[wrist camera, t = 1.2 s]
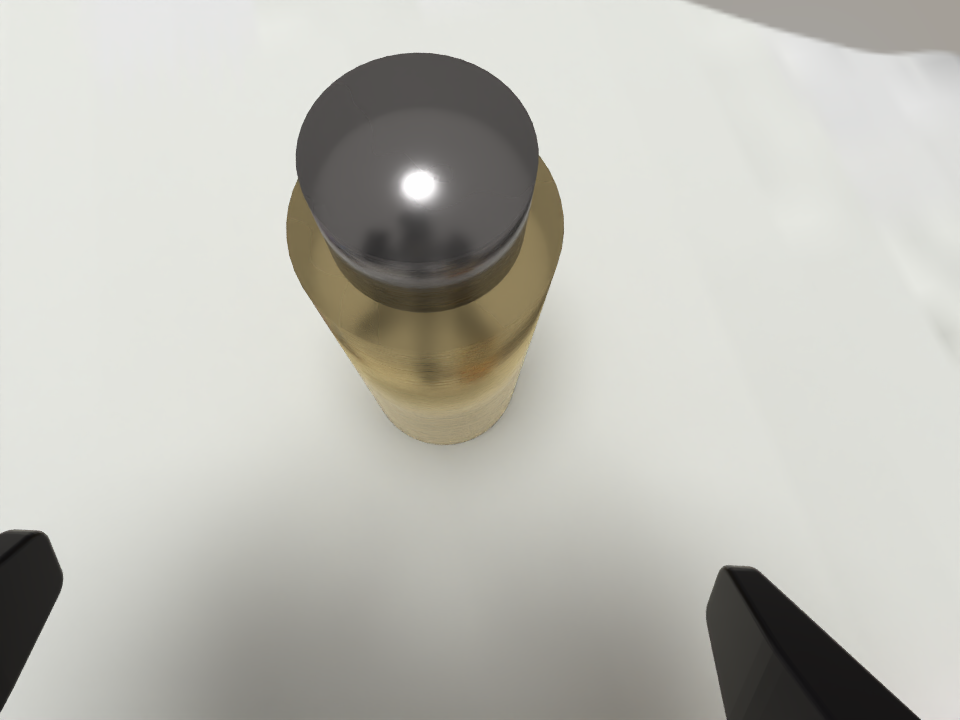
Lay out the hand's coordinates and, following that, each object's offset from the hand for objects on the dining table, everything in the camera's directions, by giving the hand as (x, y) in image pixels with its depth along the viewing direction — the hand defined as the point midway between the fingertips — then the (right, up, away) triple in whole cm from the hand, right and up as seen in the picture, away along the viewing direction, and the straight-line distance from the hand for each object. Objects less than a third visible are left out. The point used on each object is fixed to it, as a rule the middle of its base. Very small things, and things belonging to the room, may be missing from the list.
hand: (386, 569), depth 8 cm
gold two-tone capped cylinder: (0, +2, +13) cm, 14 cm away
